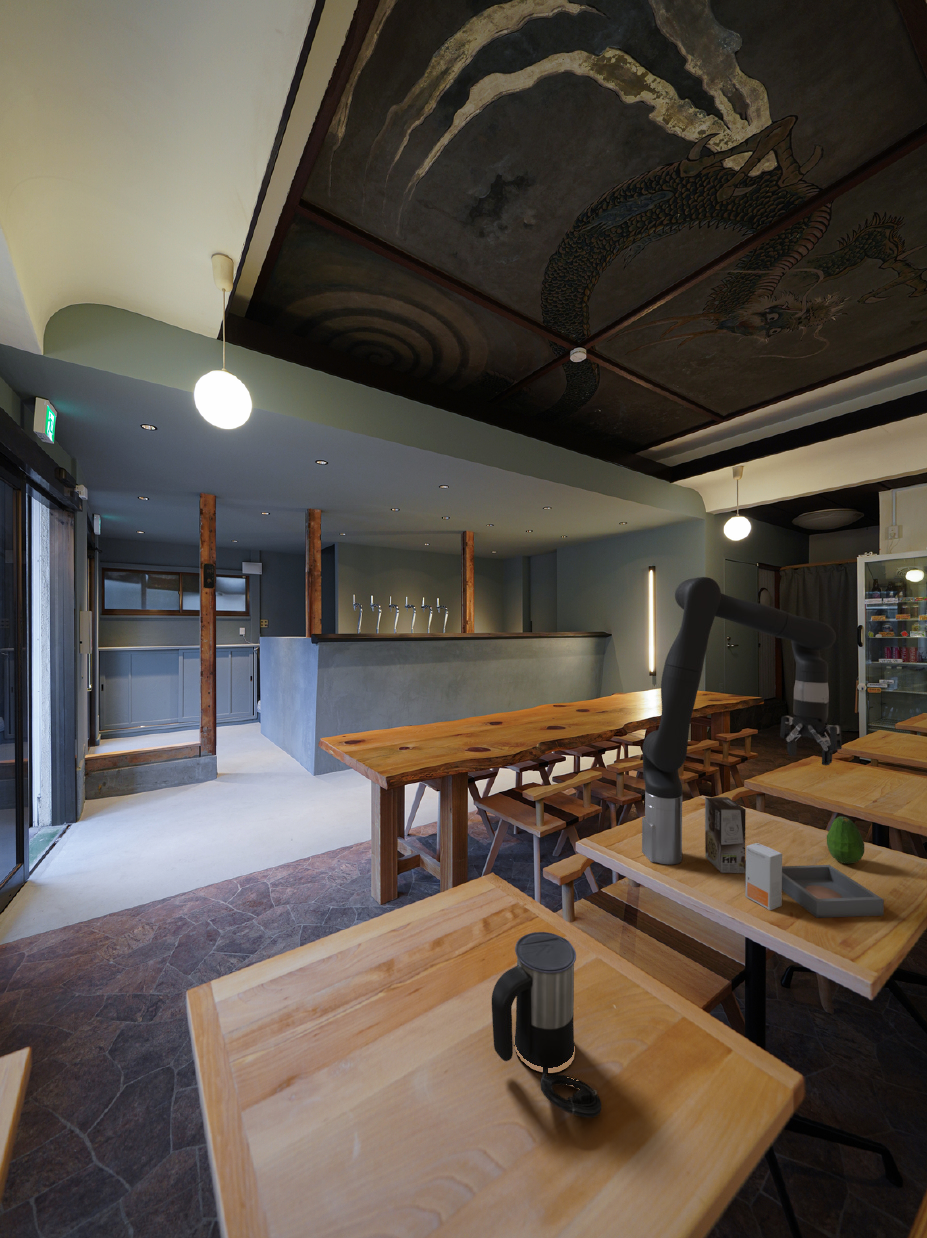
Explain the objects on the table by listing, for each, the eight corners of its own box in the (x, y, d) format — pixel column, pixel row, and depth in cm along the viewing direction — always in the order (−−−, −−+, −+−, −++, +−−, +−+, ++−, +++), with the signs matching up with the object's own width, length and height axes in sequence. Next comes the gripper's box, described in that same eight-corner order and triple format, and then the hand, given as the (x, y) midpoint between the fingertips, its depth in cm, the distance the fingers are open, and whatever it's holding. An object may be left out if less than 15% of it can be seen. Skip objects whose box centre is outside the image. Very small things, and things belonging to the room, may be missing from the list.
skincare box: (744, 897, 117) (744, 845, 116) (756, 893, 118) (757, 842, 118) (770, 911, 111) (770, 857, 111) (782, 906, 113) (783, 853, 113)
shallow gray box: (816, 918, 109) (817, 901, 109) (770, 881, 124) (770, 866, 124) (883, 915, 110) (883, 899, 109) (829, 879, 125) (829, 864, 124)
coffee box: (746, 873, 127) (747, 809, 127) (720, 873, 127) (720, 809, 127) (728, 856, 136) (728, 796, 136) (704, 856, 136) (704, 796, 136)
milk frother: (534, 1013, 83) (534, 923, 83) (629, 1068, 73) (630, 966, 73) (482, 1075, 72) (481, 971, 72) (585, 1150, 62) (585, 1029, 62)
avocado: (821, 861, 133) (822, 816, 133) (832, 852, 138) (832, 808, 138) (859, 873, 127) (859, 826, 127) (868, 864, 132) (869, 818, 132)
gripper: (775, 694, 138) (773, 754, 138) (830, 704, 125) (828, 769, 125) (793, 693, 141) (791, 751, 141) (849, 702, 128) (847, 766, 128)
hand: (808, 760), depth 133 cm, fingers open, 8 cm apart
